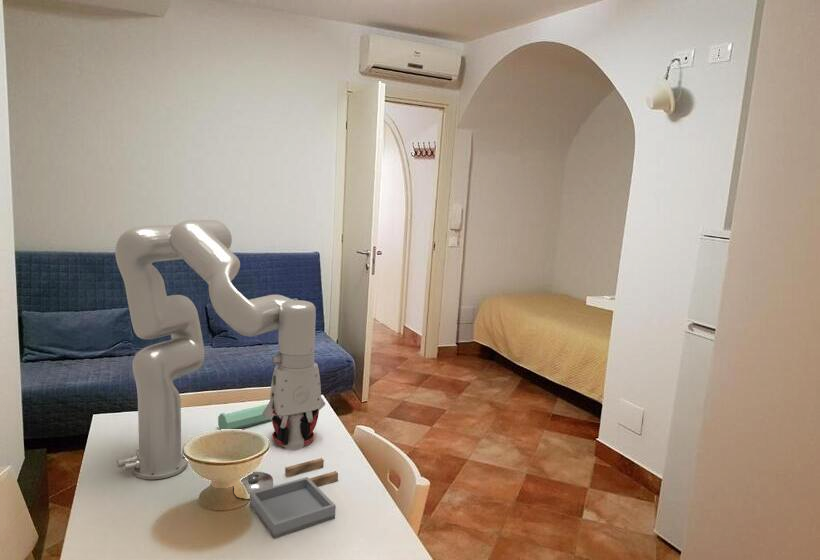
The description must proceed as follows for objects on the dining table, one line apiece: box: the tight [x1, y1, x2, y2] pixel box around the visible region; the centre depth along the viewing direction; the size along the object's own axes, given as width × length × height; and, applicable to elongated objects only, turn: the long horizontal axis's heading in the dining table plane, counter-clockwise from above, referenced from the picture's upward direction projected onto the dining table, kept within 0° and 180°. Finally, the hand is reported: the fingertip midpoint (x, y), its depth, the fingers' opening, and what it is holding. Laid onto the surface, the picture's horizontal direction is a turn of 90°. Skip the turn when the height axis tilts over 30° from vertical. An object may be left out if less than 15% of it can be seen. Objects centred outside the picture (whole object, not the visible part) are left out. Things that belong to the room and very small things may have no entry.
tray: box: [249, 476, 336, 539], centre depth 122 cm, size 14×14×3 cm
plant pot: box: [271, 410, 320, 447], centre depth 155 cm, size 13×13×12 cm
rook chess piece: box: [283, 413, 305, 451], centre depth 119 cm, size 4×4×8 cm
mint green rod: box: [217, 403, 271, 431], centre depth 167 cm, size 6×6×25 cm
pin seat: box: [284, 457, 339, 488], centre depth 136 cm, size 10×9×2 cm
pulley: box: [241, 471, 274, 494], centre depth 130 cm, size 9×9×3 cm
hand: (294, 439), depth 119 cm, fingers closed on rook chess piece, 4 cm apart
